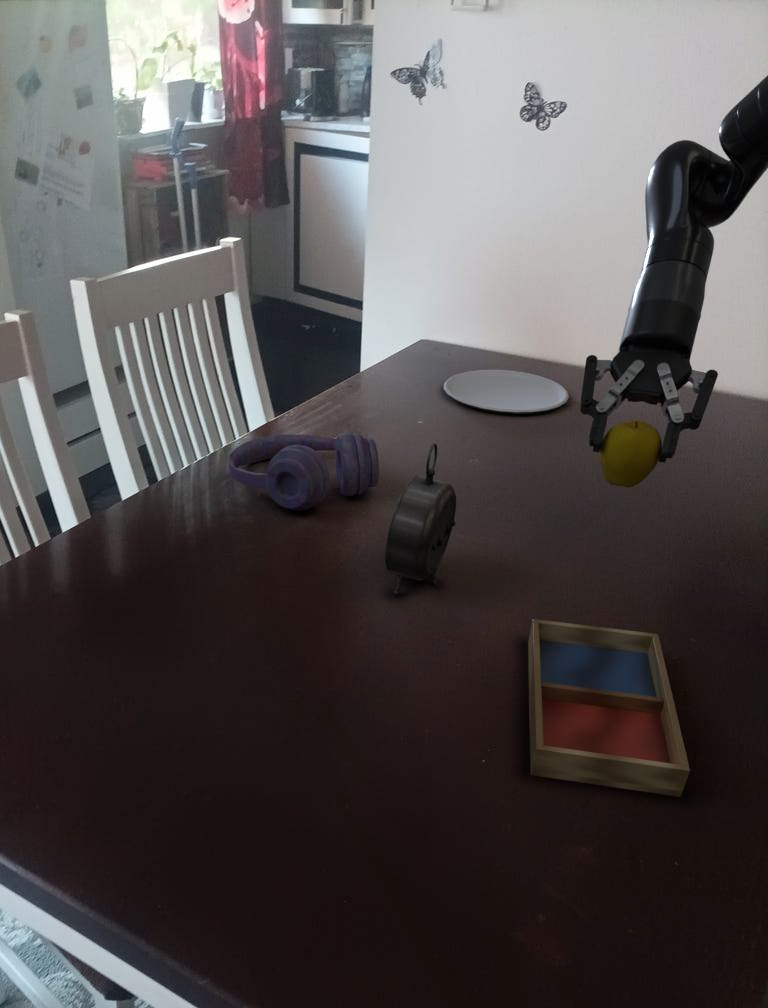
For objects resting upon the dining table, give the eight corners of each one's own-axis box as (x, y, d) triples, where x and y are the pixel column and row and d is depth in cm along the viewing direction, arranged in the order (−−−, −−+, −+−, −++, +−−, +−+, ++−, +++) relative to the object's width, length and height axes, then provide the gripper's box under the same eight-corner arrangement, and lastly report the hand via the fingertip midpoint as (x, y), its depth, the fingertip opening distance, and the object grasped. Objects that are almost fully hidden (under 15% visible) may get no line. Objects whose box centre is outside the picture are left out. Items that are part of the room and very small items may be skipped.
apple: (610, 499, 98) (626, 429, 94) (582, 476, 103) (596, 408, 99) (663, 495, 99) (682, 425, 95) (633, 471, 104) (649, 404, 100)
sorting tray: (650, 658, 90) (658, 633, 88) (680, 797, 73) (690, 770, 72) (527, 643, 91) (532, 618, 90) (530, 775, 75) (536, 748, 74)
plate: (417, 393, 153) (418, 386, 152) (491, 368, 165) (492, 361, 164) (519, 428, 140) (520, 420, 140) (592, 398, 152) (593, 391, 151)
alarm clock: (411, 554, 107) (425, 422, 97) (455, 564, 105) (474, 431, 95) (378, 597, 98) (389, 458, 89) (424, 609, 96) (441, 468, 87)
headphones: (401, 493, 119) (315, 463, 134) (400, 431, 115) (312, 408, 130) (285, 526, 110) (208, 491, 126) (280, 461, 107) (201, 432, 122)
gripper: (598, 289, 99) (562, 429, 96) (740, 303, 94) (705, 450, 92) (595, 326, 106) (561, 458, 103) (726, 341, 101) (694, 479, 99)
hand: (629, 454), depth 97 cm, fingers closed on apple, 6 cm apart
